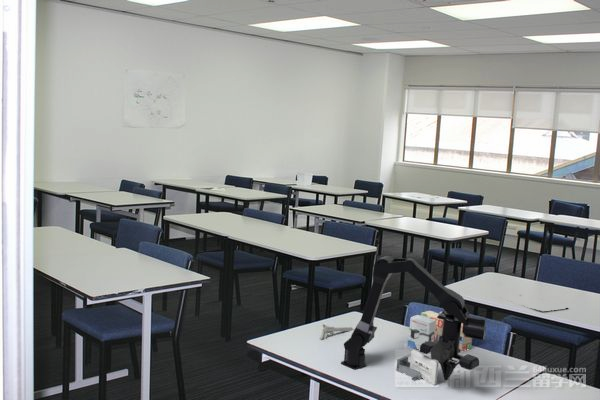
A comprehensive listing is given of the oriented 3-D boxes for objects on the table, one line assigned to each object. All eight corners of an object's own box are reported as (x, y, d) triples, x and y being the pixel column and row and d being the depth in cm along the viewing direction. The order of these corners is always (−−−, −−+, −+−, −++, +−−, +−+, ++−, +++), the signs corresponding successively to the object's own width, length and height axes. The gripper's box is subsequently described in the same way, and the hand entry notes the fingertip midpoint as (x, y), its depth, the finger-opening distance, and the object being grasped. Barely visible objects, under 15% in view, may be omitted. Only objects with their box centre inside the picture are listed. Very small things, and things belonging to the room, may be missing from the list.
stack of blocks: (417, 334, 240) (421, 305, 238) (427, 331, 244) (430, 303, 242) (461, 352, 223) (465, 321, 222) (471, 349, 227) (475, 318, 226)
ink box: (406, 346, 225) (410, 316, 223) (413, 343, 229) (416, 314, 227) (426, 353, 219) (429, 322, 218) (433, 350, 223) (436, 320, 221)
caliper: (321, 341, 224) (322, 325, 223) (319, 340, 225) (320, 324, 224) (353, 330, 239) (355, 315, 238) (351, 329, 240) (353, 314, 239)
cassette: (408, 371, 201) (410, 349, 200) (412, 370, 202) (414, 349, 201) (433, 385, 191) (435, 363, 190) (437, 384, 192) (439, 362, 191)
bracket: (393, 371, 200) (394, 360, 199) (407, 365, 206) (408, 355, 205) (415, 381, 193) (416, 369, 193) (429, 374, 199) (431, 363, 199)
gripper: (412, 330, 189) (407, 376, 191) (464, 347, 176) (459, 397, 178) (431, 323, 197) (426, 368, 199) (482, 340, 184) (477, 387, 186)
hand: (446, 380), depth 190 cm, fingers closed
